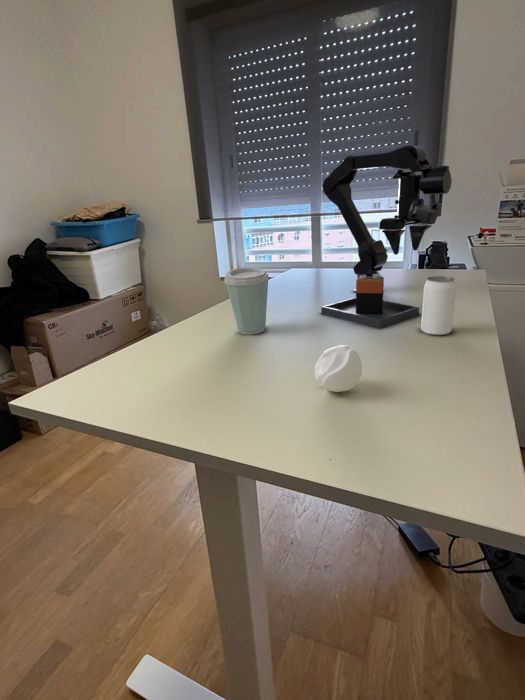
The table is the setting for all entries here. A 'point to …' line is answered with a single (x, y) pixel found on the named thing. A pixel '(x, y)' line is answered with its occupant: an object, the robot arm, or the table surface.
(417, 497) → the table surface
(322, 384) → the white ball
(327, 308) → the tray
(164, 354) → the table surface
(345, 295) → the table surface
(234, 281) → the disposable coffee cup
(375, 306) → the battery
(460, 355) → the table surface
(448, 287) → the can
